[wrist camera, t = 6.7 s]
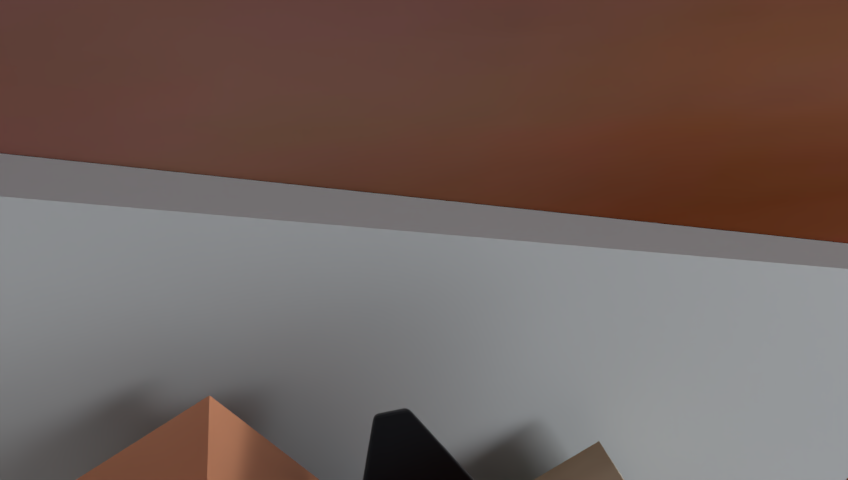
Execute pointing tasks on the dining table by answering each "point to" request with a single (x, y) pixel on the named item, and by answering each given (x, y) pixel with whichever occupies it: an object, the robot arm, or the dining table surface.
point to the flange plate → (257, 453)
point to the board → (409, 329)
